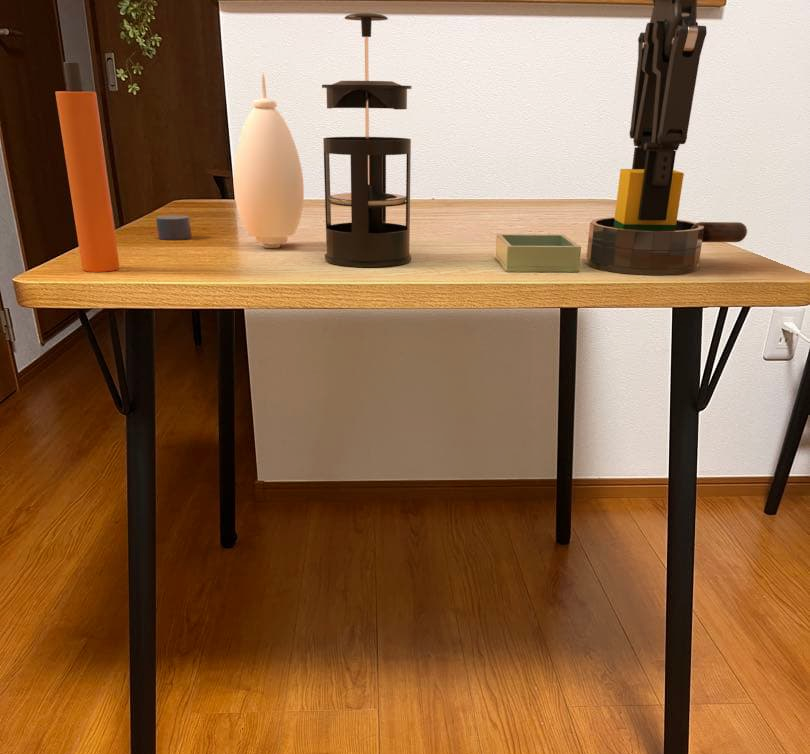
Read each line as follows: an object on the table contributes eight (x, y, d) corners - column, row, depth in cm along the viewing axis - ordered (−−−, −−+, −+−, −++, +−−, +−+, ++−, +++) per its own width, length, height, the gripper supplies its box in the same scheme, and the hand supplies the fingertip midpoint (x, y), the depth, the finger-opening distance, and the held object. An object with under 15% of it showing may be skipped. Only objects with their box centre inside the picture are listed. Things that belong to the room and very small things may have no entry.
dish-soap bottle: (122, 265, 91) (95, 63, 82) (116, 271, 87) (87, 62, 79) (86, 265, 90) (55, 62, 82) (79, 272, 87) (46, 61, 79)
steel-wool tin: (198, 237, 108) (196, 216, 107) (172, 241, 106) (170, 220, 104) (177, 234, 111) (175, 214, 109) (151, 237, 108) (149, 217, 107)
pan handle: (692, 243, 92) (695, 223, 91) (685, 240, 94) (688, 220, 93) (748, 243, 92) (751, 223, 91) (740, 240, 94) (744, 221, 93)
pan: (600, 275, 89) (605, 231, 87) (576, 255, 99) (579, 216, 97) (713, 275, 89) (720, 232, 87) (677, 256, 99) (683, 217, 97)
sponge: (663, 229, 94) (672, 169, 92) (674, 235, 91) (684, 172, 88) (613, 229, 94) (620, 168, 91) (622, 234, 91) (630, 172, 88)
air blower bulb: (309, 242, 106) (303, 73, 98) (301, 252, 99) (293, 72, 91) (245, 241, 106) (233, 72, 98) (232, 251, 99) (218, 71, 91)
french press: (403, 270, 90) (406, 8, 79) (314, 266, 91) (305, 8, 80) (418, 252, 100) (422, 18, 90) (338, 249, 101) (333, 18, 91)
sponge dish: (578, 272, 90) (581, 246, 89) (506, 271, 90) (507, 246, 88) (562, 258, 97) (564, 234, 96) (495, 257, 97) (496, 234, 96)
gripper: (618, -41, 88) (591, 206, 99) (669, -66, 73) (631, 227, 84) (691, -39, 89) (657, 207, 99) (757, -64, 74) (708, 228, 85)
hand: (645, 216), depth 92 cm, fingers closed on sponge, 4 cm apart
